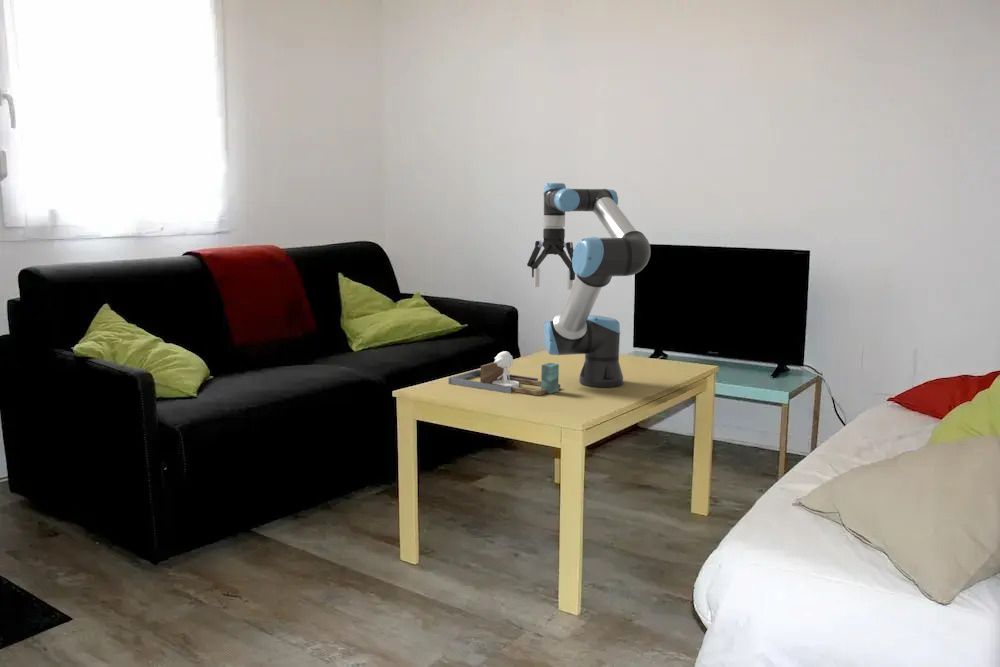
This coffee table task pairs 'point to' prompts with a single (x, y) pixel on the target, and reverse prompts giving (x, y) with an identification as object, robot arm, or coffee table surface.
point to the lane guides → (501, 388)
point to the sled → (547, 379)
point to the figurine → (505, 369)
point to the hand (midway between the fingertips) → (552, 288)
